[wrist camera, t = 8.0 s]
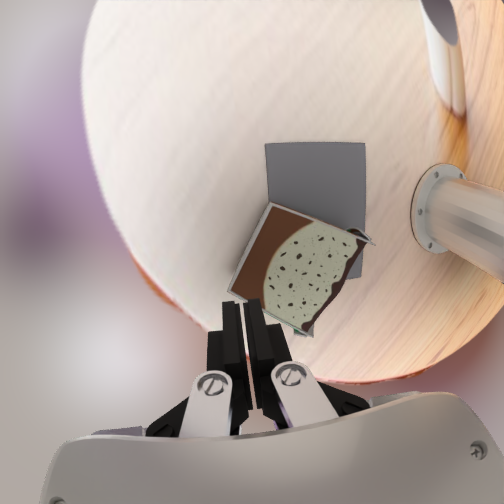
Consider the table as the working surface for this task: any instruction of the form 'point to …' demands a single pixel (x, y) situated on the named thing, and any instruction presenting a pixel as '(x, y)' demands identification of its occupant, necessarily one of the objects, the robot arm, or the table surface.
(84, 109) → the table surface
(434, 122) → the table surface
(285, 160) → the mat
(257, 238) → the food container
